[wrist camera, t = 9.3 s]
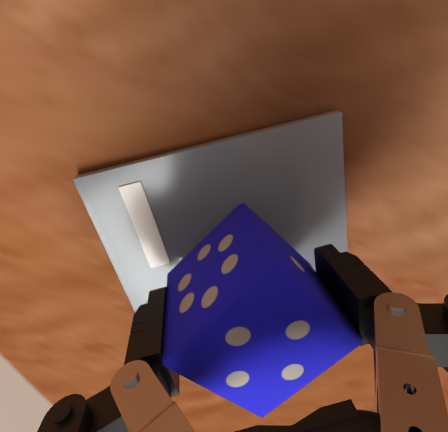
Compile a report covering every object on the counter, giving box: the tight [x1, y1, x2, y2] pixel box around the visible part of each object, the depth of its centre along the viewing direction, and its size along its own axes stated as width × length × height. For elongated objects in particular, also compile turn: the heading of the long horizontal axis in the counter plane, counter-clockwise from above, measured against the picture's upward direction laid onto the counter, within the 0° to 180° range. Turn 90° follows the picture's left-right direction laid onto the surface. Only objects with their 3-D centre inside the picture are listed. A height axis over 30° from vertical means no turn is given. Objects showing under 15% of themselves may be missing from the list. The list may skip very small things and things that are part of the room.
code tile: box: [73, 110, 348, 312], centre depth 16 cm, size 12×12×1 cm
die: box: [162, 203, 363, 417], centre depth 12 cm, size 5×5×5 cm
